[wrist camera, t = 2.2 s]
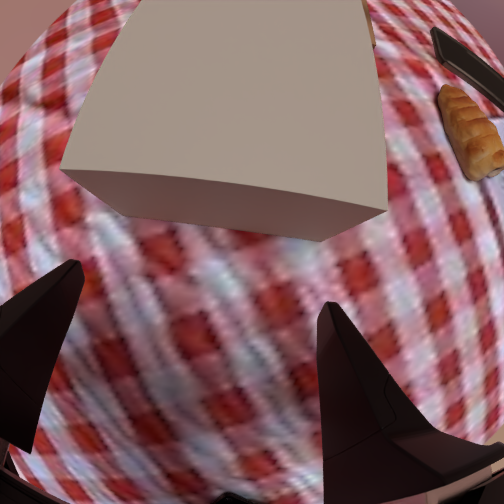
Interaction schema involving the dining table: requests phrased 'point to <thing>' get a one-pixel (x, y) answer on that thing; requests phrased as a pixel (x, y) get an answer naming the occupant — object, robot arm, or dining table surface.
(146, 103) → the beige box
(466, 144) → the pastry
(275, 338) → the dining table surface
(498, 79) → the phone
